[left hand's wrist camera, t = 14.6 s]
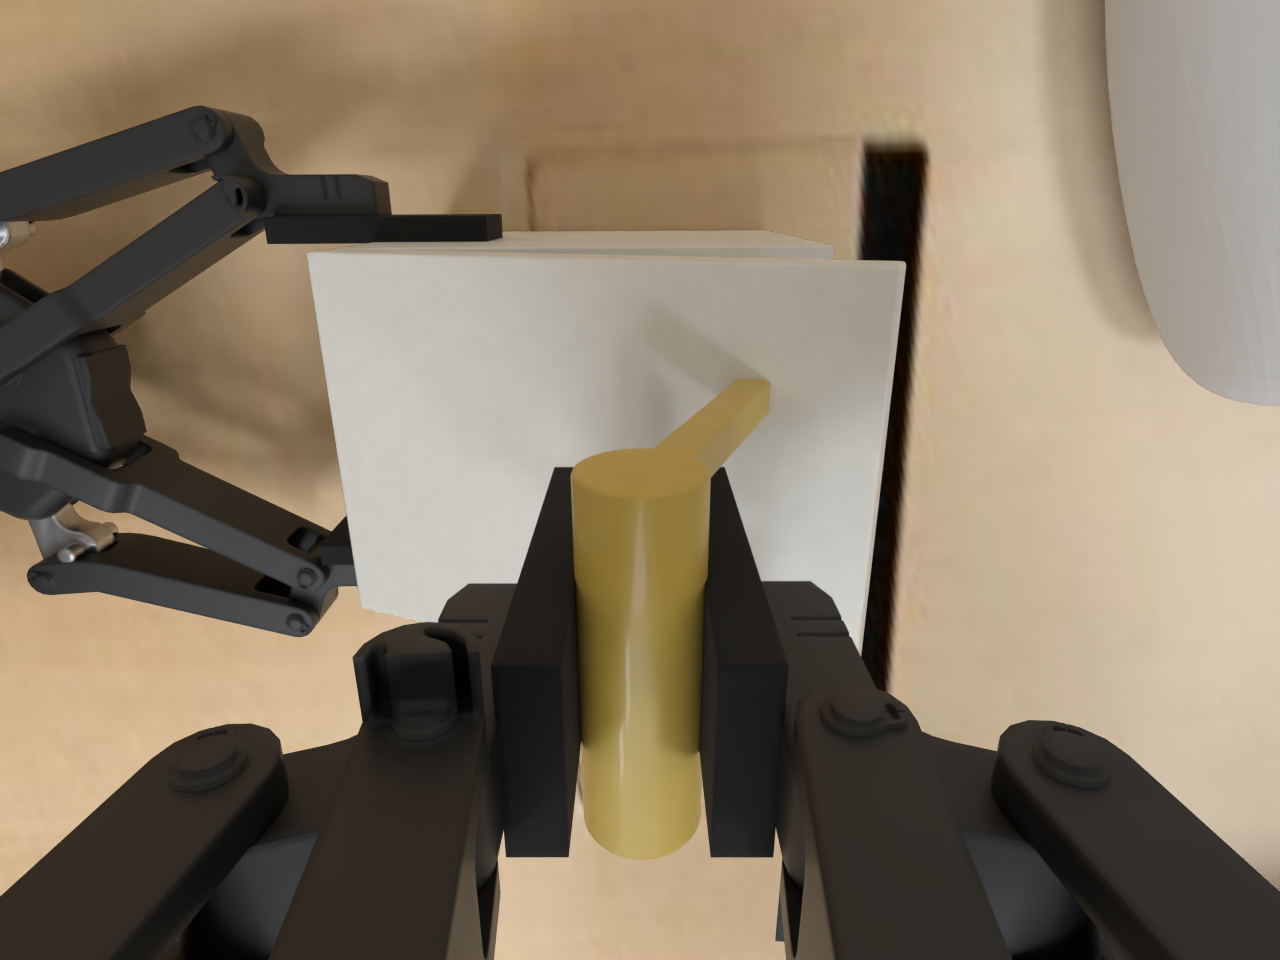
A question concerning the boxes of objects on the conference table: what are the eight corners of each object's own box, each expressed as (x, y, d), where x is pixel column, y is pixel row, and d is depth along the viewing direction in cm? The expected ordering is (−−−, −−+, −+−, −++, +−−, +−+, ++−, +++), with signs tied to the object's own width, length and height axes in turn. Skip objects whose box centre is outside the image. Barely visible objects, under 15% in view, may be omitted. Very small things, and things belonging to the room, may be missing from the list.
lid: (906, 260, 14) (855, 323, 7) (856, 690, 18) (788, 1025, 11) (340, 248, 19) (-32, 278, 12) (388, 589, 23) (121, 772, 15)
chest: (766, 230, 30) (835, 245, 19) (753, 465, 33) (807, 584, 23) (437, 231, 30) (333, 248, 19) (459, 467, 33) (381, 587, 23)
